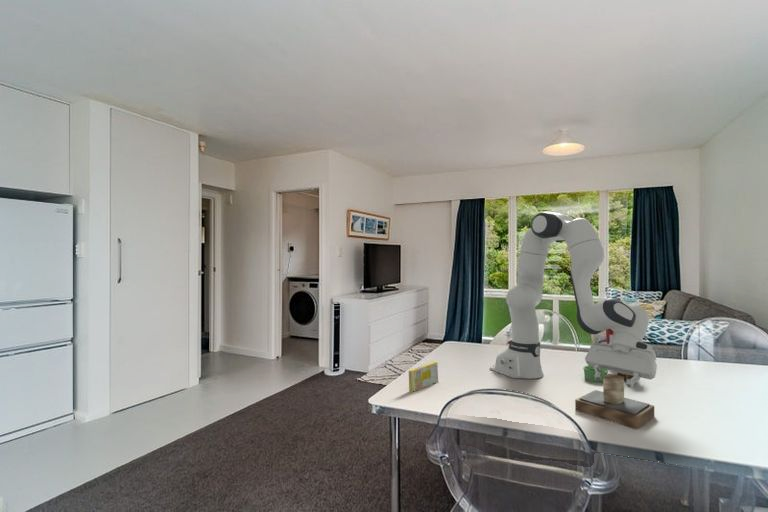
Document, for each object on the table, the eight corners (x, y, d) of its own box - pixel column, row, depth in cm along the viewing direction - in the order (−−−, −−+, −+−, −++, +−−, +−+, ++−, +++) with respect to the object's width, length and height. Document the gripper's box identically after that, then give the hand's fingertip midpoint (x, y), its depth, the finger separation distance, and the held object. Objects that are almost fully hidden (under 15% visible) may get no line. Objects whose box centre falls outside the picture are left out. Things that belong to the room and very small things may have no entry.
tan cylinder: (603, 400, 123) (603, 376, 123) (609, 397, 125) (609, 373, 125) (618, 404, 119) (618, 379, 119) (624, 401, 122) (623, 376, 122)
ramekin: (578, 377, 158) (578, 367, 158) (593, 374, 162) (593, 364, 162) (598, 384, 150) (597, 373, 150) (613, 381, 154) (613, 370, 154)
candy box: (434, 381, 156) (434, 361, 156) (438, 382, 155) (438, 362, 155) (408, 391, 145) (408, 370, 145) (412, 392, 143) (412, 371, 143)
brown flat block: (575, 410, 125) (575, 398, 125) (594, 400, 134) (594, 388, 134) (637, 429, 111) (637, 415, 111) (654, 416, 119) (654, 404, 119)
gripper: (589, 336, 135) (576, 369, 129) (657, 347, 118) (646, 384, 112) (595, 347, 137) (583, 379, 131) (662, 358, 121) (651, 396, 115)
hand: (612, 382), depth 122 cm, fingers open, 8 cm apart
